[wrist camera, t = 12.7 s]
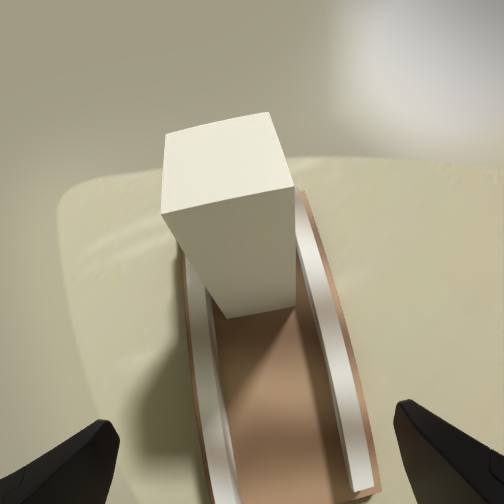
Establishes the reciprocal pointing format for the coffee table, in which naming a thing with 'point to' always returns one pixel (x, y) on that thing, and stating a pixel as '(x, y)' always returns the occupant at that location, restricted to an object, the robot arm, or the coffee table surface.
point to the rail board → (280, 391)
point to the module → (233, 212)
